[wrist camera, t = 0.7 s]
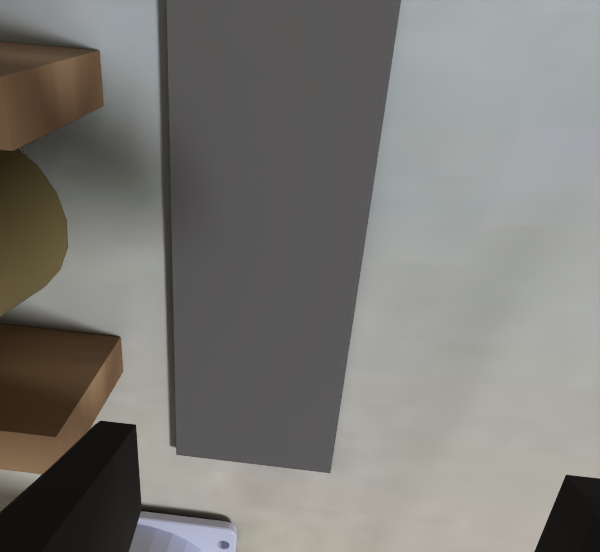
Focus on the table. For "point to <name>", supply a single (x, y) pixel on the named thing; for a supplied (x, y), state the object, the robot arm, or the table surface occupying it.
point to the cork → (27, 230)
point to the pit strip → (270, 216)
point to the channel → (37, 341)
